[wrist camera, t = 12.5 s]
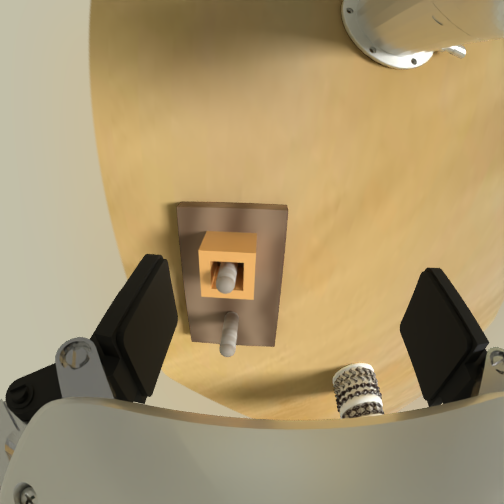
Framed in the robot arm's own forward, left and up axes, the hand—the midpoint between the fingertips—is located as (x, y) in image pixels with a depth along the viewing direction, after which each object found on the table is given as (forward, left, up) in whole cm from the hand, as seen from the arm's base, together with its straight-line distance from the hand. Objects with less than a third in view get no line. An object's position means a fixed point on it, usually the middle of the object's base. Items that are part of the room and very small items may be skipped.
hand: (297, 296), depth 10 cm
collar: (+5, +11, -23) cm, 26 cm away
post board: (+5, +16, -25) cm, 30 cm away
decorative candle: (-18, +38, -25) cm, 49 cm away
